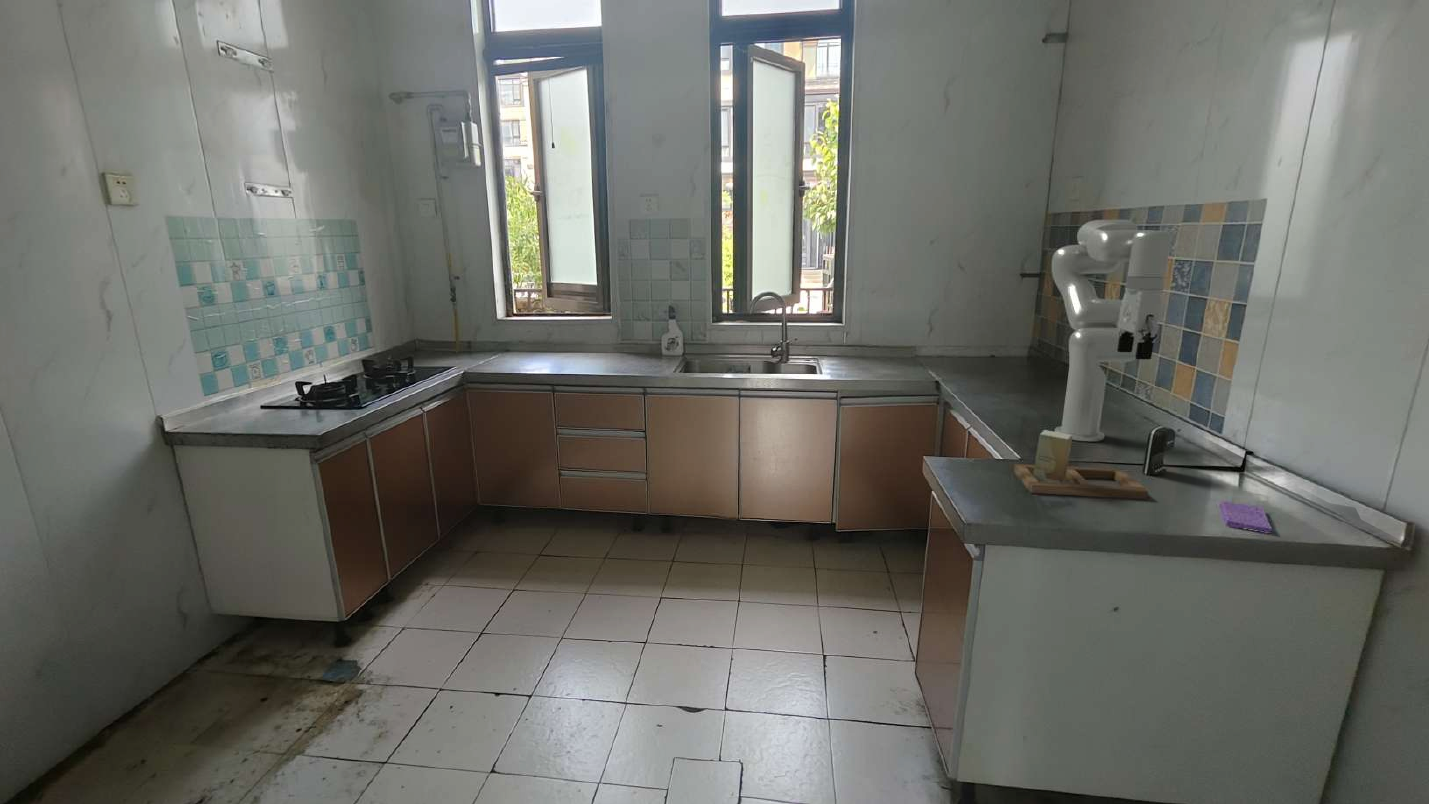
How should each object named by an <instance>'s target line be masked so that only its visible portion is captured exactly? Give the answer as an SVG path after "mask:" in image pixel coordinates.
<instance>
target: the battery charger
mask: <svg viewBox="0 0 1429 804" xmlns="http://www.w3.org/2000/svg"><path fill="white" fill-rule="evenodd" d="M1175 442H1176V431H1175V429H1173V428H1169V427H1166V426H1156V427H1154V428H1151V429H1150V430H1149V433H1148V436H1147V441H1146V446H1145V453H1144V460H1143V465H1142V474H1145V475H1150V476H1160V475H1161V474H1164V473H1165V472H1167V467H1166V466H1165V463H1164V455H1165V453H1167V452H1169V451H1171V450H1173V449H1174V447H1175Z"/></svg>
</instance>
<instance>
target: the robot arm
mask: <svg viewBox="0 0 1429 804" xmlns="http://www.w3.org/2000/svg"><path fill="white" fill-rule="evenodd" d="M1172 238H1173V236H1172V234H1171V232H1169V231H1167V230H1153V229H1151V230H1150V229H1143V230H1142V229H1139V227H1138V226H1137V224H1136V223H1135V222H1134V221H1132V220H1130V219H1094V220H1091V221H1088V222H1086V223H1084V224H1083V225H1081V227H1080V228H1079V229H1078V231H1077V235H1076V239H1077V243H1078V244H1071V245H1066V246H1062V247H1060V248H1058V249H1057V250H1055V252H1054V253H1053V256H1052V259H1051V274H1052V279H1053V281H1054V283H1055V285H1056V287H1057V289H1058V291H1059V292H1060V294H1061V296H1062V299H1063V303H1064V308H1065V312H1066V316H1067V320H1068V324H1069V326H1070V327H1071V329H1072V330H1074V331H1073V332H1072V333H1071V335H1070V337H1069V339H1068V352H1069V353H1068V356H1069V357H1068V358H1069V359H1068V360H1069V361H1068V363H1069V364H1068V365H1069V366H1068V375H1067V383H1066V391H1065V398H1064V405H1063V414H1062V421H1061V426H1056V427H1055V429H1054V432H1060V433H1064V434H1069V435H1073V437H1072V441H1077V442H1099V441H1102V440H1104V439H1105V433H1104V432H1103V431H1100V426H1101V420H1102V419H1101V418H1102V412H1103V406H1104V399H1105V391H1106V384H1107V376H1106V374H1105V372H1104V370H1103V369H1102V368H1101V366H1100V363H1129V362H1133V361H1135V360H1151V359H1152V356H1153V355H1152V354H1153V349H1154V344H1155V343H1156V338H1157V336H1158V332H1159V329H1160V325H1159V319H1160V311H1161V310H1160V309H1161V294H1162V293H1161V292H1164V286H1165V283H1166V282H1165V279H1166V276H1167V275H1166V274H1167V269H1168V261H1169V256H1170V250H1171V243H1172ZM1123 262H1129V263H1128V270H1127V275H1126V282H1125V292H1124V295H1123V298H1122V299H1113V298H1110V299H1108V298H1107V299H1106V298H1099V297H1098V296H1097V295H1098V294H1097V293H1096V292H1097V291H1096V288H1095V287H1094V285H1093V283H1092V282H1090V281H1089V280H1088V279H1087V278H1085V277H1084V276H1082V275H1085V274H1086V275H1087V274H1096V275H1097V274H1100V275H1101V274H1103V275H1104V274H1111V273H1113V272H1115V271H1116V270H1118V269H1119V267H1121V265H1122V263H1123ZM1081 274H1082V275H1081Z"/></svg>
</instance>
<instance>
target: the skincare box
mask: <svg viewBox="0 0 1429 804" xmlns="http://www.w3.org/2000/svg"><path fill="white" fill-rule="evenodd" d="M1072 437H1073V435H1069V434H1064V433H1060V432H1055V431H1052V430H1047V429H1044V430H1042V432H1040V434H1039V437H1038V445H1037V450H1036V456H1035V463H1034V465H1035V469H1034V475H1033V476H1034V477H1035V478H1036V480H1037V481H1038V482H1049V483H1065V482H1066V472H1067V466H1068V465H1069V460H1070V454H1071V453H1070V452H1071V449H1072V448H1071V447H1072V441H1073V440H1072Z"/></svg>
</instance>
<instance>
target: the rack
mask: <svg viewBox="0 0 1429 804" xmlns="http://www.w3.org/2000/svg"><path fill="white" fill-rule="evenodd" d="M1034 469H1035V464H1027V463H1025V464H1024V463H1014V464H1013V472H1014V474H1015V475H1016V476H1017V477H1018V479H1019V480H1020V481H1021V482H1022V484H1023V485H1024V486H1025V488H1026V489H1027V490H1028V491H1029V493H1030V494H1044V495H1060V496H1061V495H1063V496H1064V495H1065V496H1081V497H1098V498H1099V497H1102V498H1113V499H1114V498H1117V499H1133V500H1136V499H1137V500H1147V499H1148V494H1149V490H1148V489H1147V488H1145V487H1144V486H1142V485H1141V484H1140V483H1139V482H1138V481H1136V480H1135V478H1133V477H1131V476H1130V475H1128V474H1127V473H1126V472H1125V471H1123V469H1121V468H1112V467H1111V468H1107V467H1089V466H1087V467H1086V466H1071V465H1070V466H1067V472H1066V478H1065V480H1067V481H1068V482H1069V483H1067V482H1066V483H1049V482H1038V481H1037V480H1036V478H1035V477H1034V476H1033V475H1034ZM1086 479H1103V480H1114V481H1115V482H1116V483H1117V484H1119V485H1104V484H1103V485H1102V484H1090V483H1089V482H1088V481H1087V480H1086Z"/></svg>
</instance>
